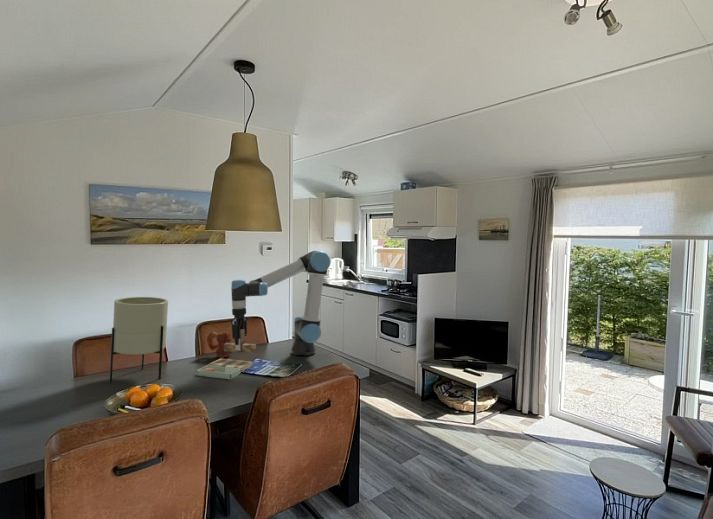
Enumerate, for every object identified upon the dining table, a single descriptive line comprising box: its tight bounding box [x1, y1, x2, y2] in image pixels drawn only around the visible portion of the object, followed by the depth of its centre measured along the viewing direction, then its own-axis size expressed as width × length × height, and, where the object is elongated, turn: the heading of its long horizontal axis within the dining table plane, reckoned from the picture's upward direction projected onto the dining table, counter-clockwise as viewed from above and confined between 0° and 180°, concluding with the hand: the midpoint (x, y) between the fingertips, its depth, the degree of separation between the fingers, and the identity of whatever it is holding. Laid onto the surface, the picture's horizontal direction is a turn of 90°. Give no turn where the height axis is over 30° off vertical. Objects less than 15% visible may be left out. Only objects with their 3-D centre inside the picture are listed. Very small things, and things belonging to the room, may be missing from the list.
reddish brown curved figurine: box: [206, 330, 232, 359], centre depth 236 cm, size 15×8×15 cm, turn 84°
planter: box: [108, 296, 169, 384], centre depth 197 cm, size 23×24×39 cm
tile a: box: [225, 365, 234, 374], centre depth 204 cm, size 4×4×2 cm
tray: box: [195, 364, 242, 380], centre depth 204 cm, size 20×10×3 cm, turn 75°
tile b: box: [204, 367, 215, 372], centre depth 205 cm, size 4×4×2 cm
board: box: [208, 358, 254, 372], centre depth 215 cm, size 20×11×3 cm, turn 75°
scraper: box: [224, 329, 257, 353], centre depth 221 cm, size 18×4×12 cm, turn 76°
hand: (240, 348), depth 221 cm, fingers closed on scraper, 4 cm apart
